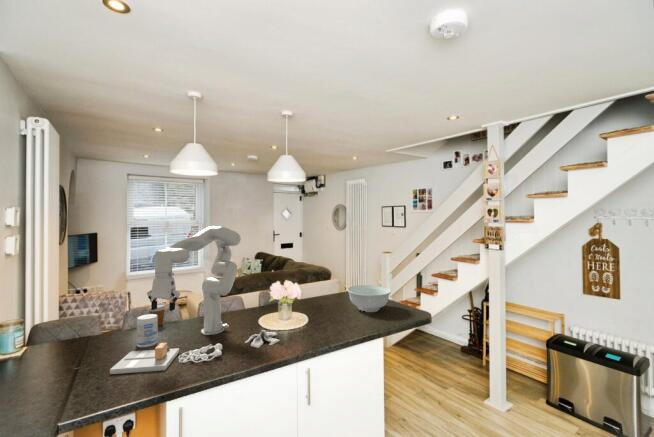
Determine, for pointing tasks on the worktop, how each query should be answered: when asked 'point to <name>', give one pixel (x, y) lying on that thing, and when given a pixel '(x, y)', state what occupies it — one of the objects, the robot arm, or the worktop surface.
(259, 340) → the cloth
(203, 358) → the tangled rod sculpture
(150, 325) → the supplement tub
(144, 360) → the console
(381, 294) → the bowl
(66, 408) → the worktop surface
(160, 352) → the block
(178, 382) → the worktop surface
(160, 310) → the disposable coffee cup
